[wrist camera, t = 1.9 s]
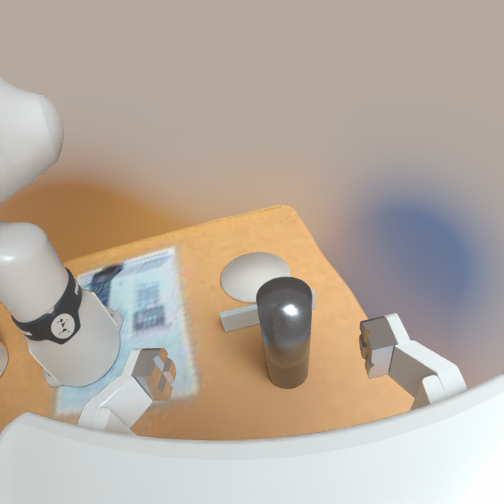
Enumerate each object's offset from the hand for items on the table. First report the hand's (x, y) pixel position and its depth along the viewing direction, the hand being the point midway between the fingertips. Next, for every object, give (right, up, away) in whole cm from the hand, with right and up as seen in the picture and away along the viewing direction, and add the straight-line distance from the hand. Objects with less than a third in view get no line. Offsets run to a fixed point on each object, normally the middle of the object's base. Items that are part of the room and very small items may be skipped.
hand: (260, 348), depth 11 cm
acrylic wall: (+2, -6, +32) cm, 33 cm away
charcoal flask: (+4, -12, +25) cm, 28 cm away
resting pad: (0, -1, +40) cm, 40 cm away
